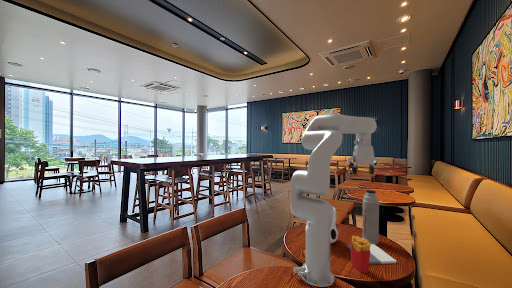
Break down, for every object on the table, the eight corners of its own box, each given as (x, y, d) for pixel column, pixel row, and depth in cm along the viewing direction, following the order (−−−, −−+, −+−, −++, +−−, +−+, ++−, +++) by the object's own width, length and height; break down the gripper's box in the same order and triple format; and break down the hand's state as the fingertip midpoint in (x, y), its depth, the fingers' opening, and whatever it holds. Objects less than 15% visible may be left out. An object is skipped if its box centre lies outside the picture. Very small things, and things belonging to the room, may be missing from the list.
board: (365, 264, 94) (365, 262, 94) (346, 246, 110) (346, 245, 110) (396, 263, 96) (396, 260, 96) (373, 246, 112) (373, 244, 112)
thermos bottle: (364, 243, 115) (365, 191, 115) (360, 237, 122) (361, 188, 122) (380, 244, 113) (381, 192, 113) (375, 238, 121) (376, 189, 121)
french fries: (348, 264, 95) (348, 235, 95) (355, 262, 96) (355, 233, 96) (365, 276, 86) (365, 244, 86) (373, 273, 88) (373, 242, 88)
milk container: (305, 245, 112) (305, 211, 112) (305, 231, 129) (305, 202, 129) (340, 249, 108) (340, 214, 108) (335, 235, 125) (335, 204, 125)
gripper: (351, 143, 113) (351, 175, 113) (382, 143, 114) (382, 175, 114) (344, 143, 120) (344, 173, 120) (373, 143, 121) (373, 173, 121)
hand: (362, 174), depth 117 cm, fingers open, 9 cm apart
